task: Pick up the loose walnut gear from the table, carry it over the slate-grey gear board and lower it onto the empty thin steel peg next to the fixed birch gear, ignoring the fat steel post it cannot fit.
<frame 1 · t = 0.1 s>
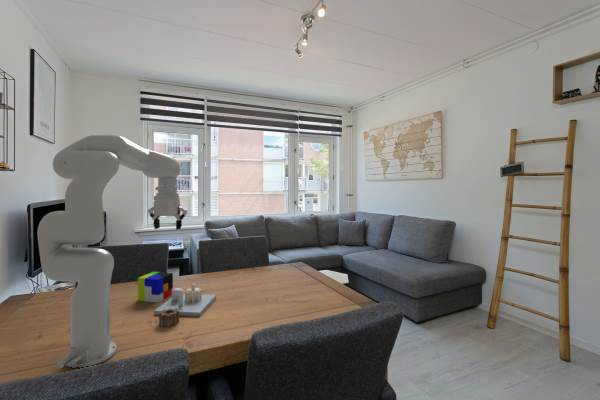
hand: (167, 228, 130), 31 cm above the table, tool pointing down, fingers open, 9 cm apart
walnut gear: (169, 322, 109), on the table
gear board: (187, 305, 124), on the table
puzzle toy: (155, 297, 133), on the table
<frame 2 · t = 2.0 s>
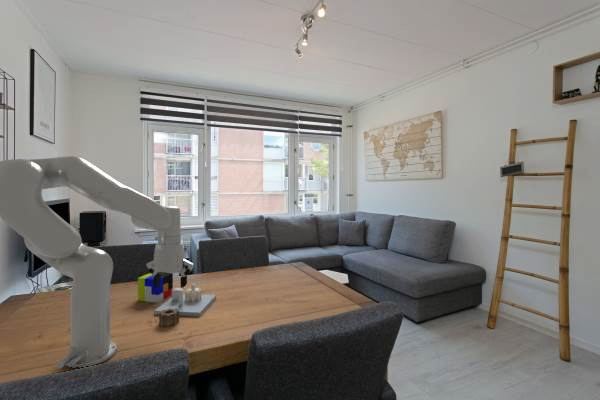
hand: (170, 286, 108), 13 cm above the table, tool pointing down, fingers open, 9 cm apart
nothing on the table moved.
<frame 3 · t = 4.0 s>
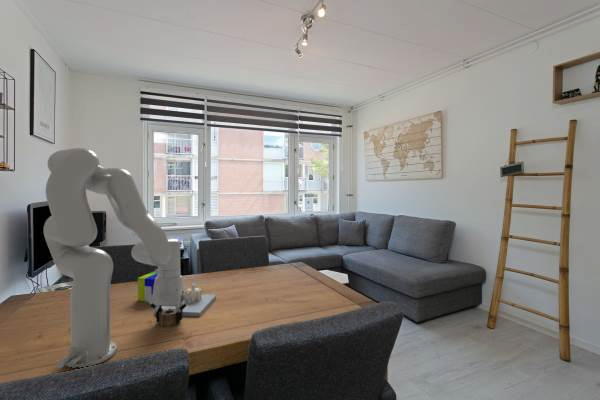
hand: (169, 320, 108), 1 cm above the table, tool pointing down, fingers closed on walnut gear, 6 cm apart
walnut gear: (169, 322, 109), on the table, touching gripper
everything else where it was.
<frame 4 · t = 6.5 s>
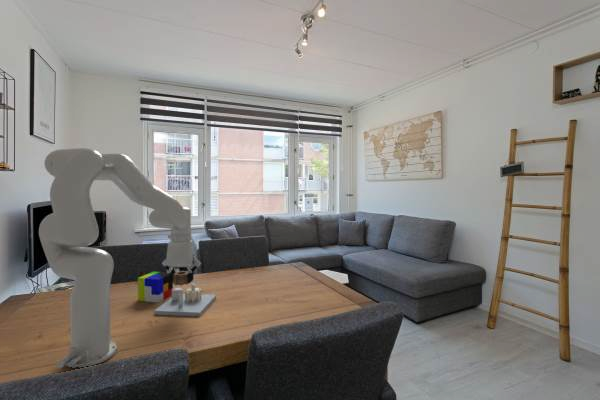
hand: (181, 281, 120), 11 cm above the table, tool pointing down, fingers closed on walnut gear, 6 cm apart
walnut gear: (181, 282, 120), point 11 cm above the table, touching gripper
everything else where it was.
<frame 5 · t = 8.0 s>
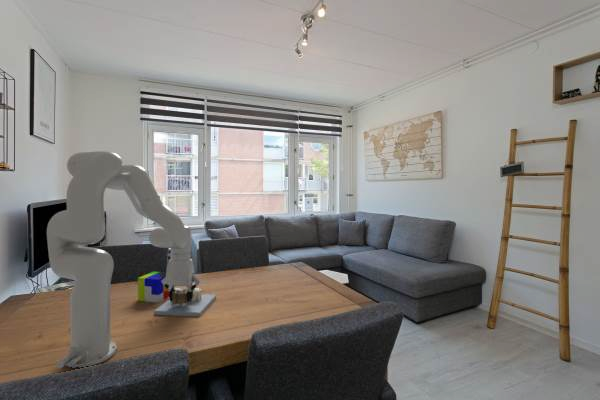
hand: (181, 299, 120), 4 cm above the table, tool pointing down, fingers closed on walnut gear, 6 cm apart
walnut gear: (181, 301, 120), point 3 cm above the table, touching gripper
everything else where it was.
when the fingers open (3 cm above the table, at t = 9.0 s): walnut gear drops 1 cm, resting on gear board.
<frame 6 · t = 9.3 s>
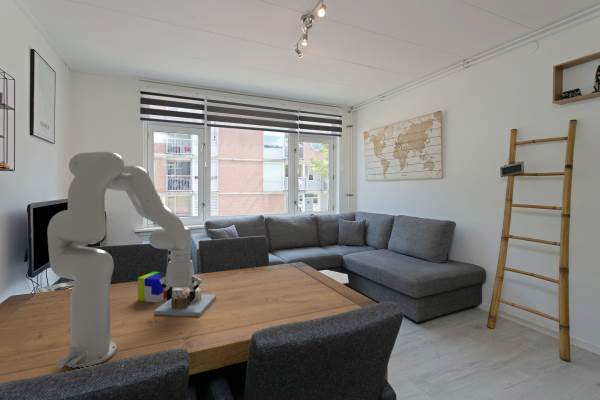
hand: (180, 299, 120), 4 cm above the table, tool pointing down, fingers open, 9 cm apart
walnut gear: (180, 305, 120), point 1 cm above the table, touching gear board
everything else where it was.
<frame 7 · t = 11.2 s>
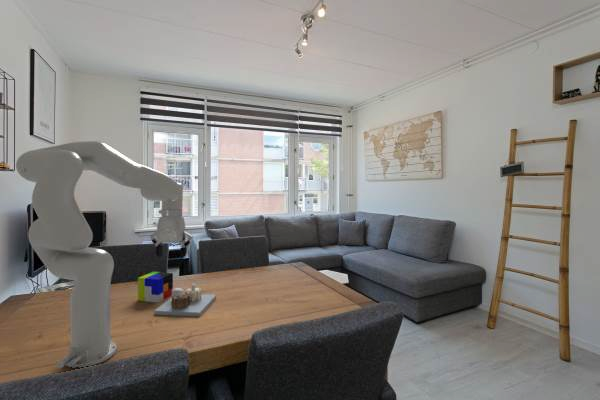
hand: (171, 256, 117), 22 cm above the table, tool pointing down, fingers open, 9 cm apart
nothing on the table moved.
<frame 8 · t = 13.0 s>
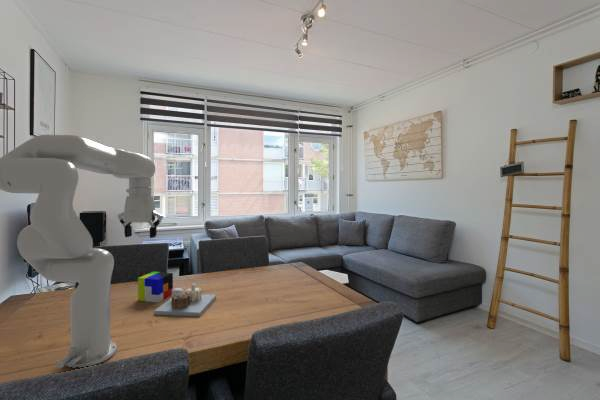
hand: (140, 237, 113), 30 cm above the table, tool pointing down, fingers open, 9 cm apart
nothing on the table moved.
at the end: walnut gear 0.0 cm from the target spot on the gear board, point 1.5 cm above the gear board's base; walnut gear tilted 0°; the gripper is holding nothing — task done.
